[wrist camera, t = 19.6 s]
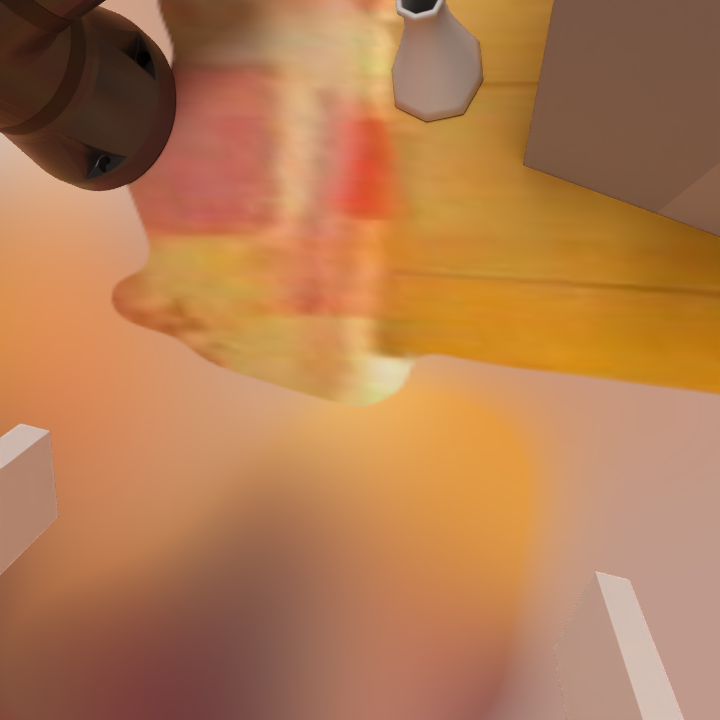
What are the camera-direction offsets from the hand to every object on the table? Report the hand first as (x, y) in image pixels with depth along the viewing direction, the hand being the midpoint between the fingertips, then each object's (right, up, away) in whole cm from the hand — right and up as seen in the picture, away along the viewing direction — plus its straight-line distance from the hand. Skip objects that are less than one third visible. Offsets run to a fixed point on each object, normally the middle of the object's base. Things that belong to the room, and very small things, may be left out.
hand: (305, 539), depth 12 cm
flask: (+7, +26, +28) cm, 39 cm away
